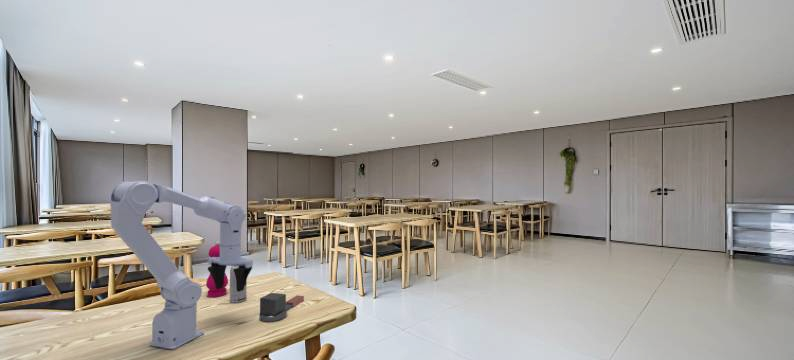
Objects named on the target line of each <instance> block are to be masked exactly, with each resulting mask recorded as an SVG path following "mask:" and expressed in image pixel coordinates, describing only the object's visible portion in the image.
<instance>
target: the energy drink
mask: <svg viewBox="0 0 794 360" xmlns="http://www.w3.org/2000/svg"><path fill="white" fill-rule="evenodd" d="M236 268H239V266H230V270H229V302H230V303H232V304H239V303H242V302H244V301H246V300H247V288H248V287H247V282H248V281H247V280H246V283H245V286H244V290H242V291H240V292H237V288H236V276H235V273H234V269H236Z"/></svg>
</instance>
